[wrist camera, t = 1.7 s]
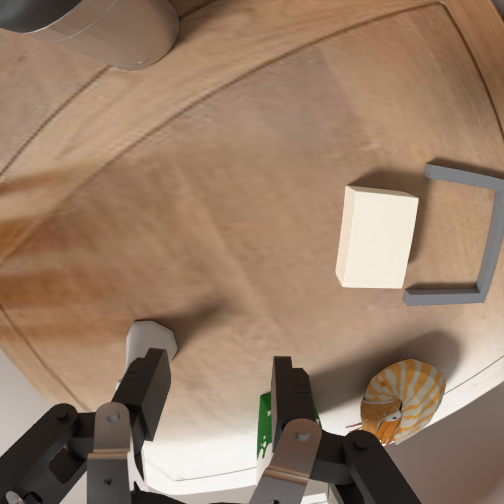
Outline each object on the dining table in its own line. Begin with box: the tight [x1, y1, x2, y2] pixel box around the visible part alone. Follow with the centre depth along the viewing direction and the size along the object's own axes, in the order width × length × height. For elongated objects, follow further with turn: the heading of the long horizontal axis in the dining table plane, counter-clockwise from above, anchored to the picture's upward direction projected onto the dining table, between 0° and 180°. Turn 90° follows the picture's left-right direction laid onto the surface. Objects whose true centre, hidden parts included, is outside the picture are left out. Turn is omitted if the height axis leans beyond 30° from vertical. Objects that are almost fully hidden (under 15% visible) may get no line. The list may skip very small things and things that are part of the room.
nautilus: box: [345, 358, 446, 447], centre depth 40 cm, size 8×22×15 cm
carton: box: [335, 185, 419, 288], centre depth 32 cm, size 10×7×4 cm
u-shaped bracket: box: [403, 164, 504, 306], centre depth 33 cm, size 17×14×2 cm
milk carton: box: [257, 394, 332, 504], centre depth 34 cm, size 9×9×20 cm
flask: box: [115, 321, 178, 391], centre depth 35 cm, size 7×7×10 cm
